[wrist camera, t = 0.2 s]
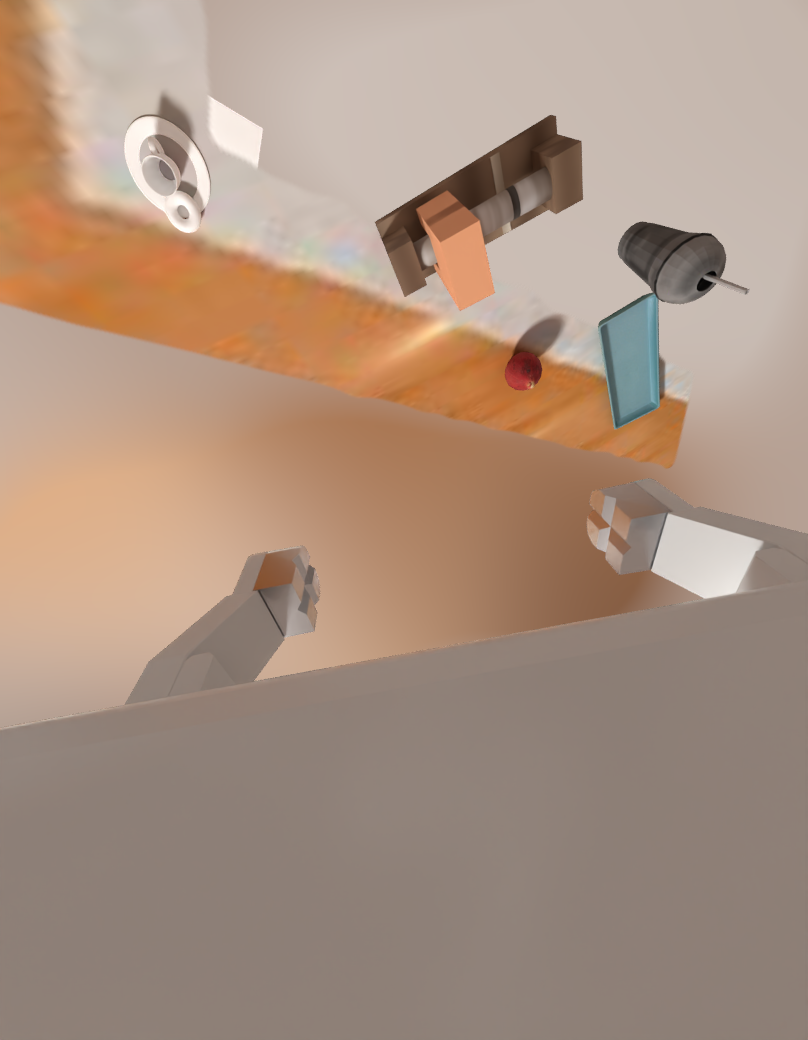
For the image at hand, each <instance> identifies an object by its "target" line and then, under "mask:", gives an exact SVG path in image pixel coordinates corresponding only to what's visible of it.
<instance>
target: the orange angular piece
mask: <svg viewBox="0 0 808 1040" xmlns="http://www.w3.org/2000/svg"><path fill="white" fill-rule="evenodd" d="M416 211H417V214H418V217H419V220H420V223H421V225H422V227H423V228H424V230H425V231H426V233H427V234H428V235H429V237H430V240H431V243H432V247H433V250H434V253H435V256H436V259H437V263H436V264H434V267H435V270H436V271H437V273H438V275H439V276H440V278H441V280H442V281H443V283H444V285H445V286H446V288H447V290H448V291H449V293H450V295H451V296H452V298H453V300H454V301H455V303H456V305H457V306H458V308H459V310H460V311H461V310H463V309H465V308H467V307H469V306H471V305H473V304H474V303H476V302H478V301H480V300H482V299H484V298H486V297H488V296H490V295H492V294H494V293H495V291H494V287H493V282H492V277H491V272H490V268H489V263H488V258H487V253H486V249H485V244H484V239H483V234H482V230H481V225H480V220H479V219H478V218H477V217H475V216H474V215H473V214H472V213H471V212H470V211H469V210H468V209H467V208H466V207H465V206H464V205H463V204H461V203H460V202H459V201H458V200H457V199H456V198H455V197H454V196H453V195H452V194H451V193H450V192H449V191H448V190H447V191H445V192H443V193H442V194H440V195H438V196H437V197H435V198H433V199H432V200H430V201H428V202H427V203H425V204H423V205H422V206H420V207H418V208H417V209H416Z"/></svg>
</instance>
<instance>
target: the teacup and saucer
mask: <svg viewBox="0 0 808 1040" xmlns="http://www.w3.org/2000/svg"><path fill="white" fill-rule="evenodd" d="M153 134H160V135H164V136H167V137H169V138H171V139H172V140H174V141H175V142H177V143H178V144H179V145H180V146H181V147H182V148H183V149H184V150H185V151H186V153H187V154H188V156H189V157H190V159H191V161H192V163H193V165H194V167H195V170H196V174H197V180H198V186H197V191H196V194H195V195H194V197H193V198H191V197H190V196H189V195H188V194H187V193H185V192H183V191H178V190H177V189H178V187H179V185H180V181H181V176H180V171H179V169H178V167H177V165H176V164H175V162H174V161H173V160H172V159H171V158H169V157H168V156H166V155H165V153H164V150H163V148H162V146H161V145H160V143H159V142H158V140H157V139H156V138H154V137H148V136H150V135H153ZM146 137H148V145H149V148H150V151H151V153H152V154H150V155H148V156H146V157H145V158H144V159H143V161H142V164H140V159H139V151H140V146H141V144H142V142H143V140H144V139H145V138H146ZM155 146H156V148H157V150H158V151H159V153H160V154H158V153H157V150H156V148H155ZM124 151H125V158H126V162H127V165H128V168H129V171H130V173H131V175H132V177H133V179H134V181H135V183H136V184H137V186H138V187H139V189H140V190H141V191H142V193H143V194H144V195H145V196H146V197H147V198H148V199H149V200H150V201H151V202H152V203H153V204H154V205H155V206H156V207H158V208H159V209H161V210H162V211H164V212H166V215H167V217H168V218H169V220H170V222H171V223H172V224H173V225H174V226H175V227H176V228H177V229H179V230H181V231H183V232H187V233H192V232H195V231H196V230H198V228H199V227H200V224H201V212H202V211H203V210H204V208H205V207H206V205H207V203H208V200H209V197H210V178H209V173H208V170H207V167H206V164H205V162H204V159H203V157H202V155H201V153H200V152H199V150H198V148H197V147H196V146H195V144H194V143H193V142H192V140H191V139H190V138H189V137H188V136H187V135H186V134H185V133H184V132H183V131H182V130H181V129H180V128H178V127H177V126H176V125H174V124H173V123H171V122H169V121H167V120H165V119H162V118H159V117H155V116H145V117H141V118H138V119H137V120H135V121H134V122H133V123H132V124H131V125H130V126H129V128H128V130H127V132H126V136H125V141H124ZM161 160H163V161H164V162H165V163H167V165H168V166H169V167H170V168H171V170H172V171H173V173H174V176H175V179H174V180H169V179H167V178H165V177H164V176H163V174H162V173H161V171H160V168H159V163H160V161H161ZM162 196H165V197H166V198H164V197H162ZM183 218H188V219H183Z"/></svg>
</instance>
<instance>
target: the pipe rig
mask: <svg viewBox="0 0 808 1040" xmlns="http://www.w3.org/2000/svg"><path fill="white" fill-rule="evenodd" d="M447 190H448V191H449V192H450V193H451V194H452V195H453V196H454V197H455V198H456V199H457V200H458V201H459V202H460V203H461V204H463V205H464V206H465V207H466V208H467V209H468V210H469V211H470V212H471V213H472V214H473V215H474V216H475V217H477V218H478V219H479V220H480V225H481V230H482V234H483V239H484V244H487V243H489V242H491V241H493V240H495V239H496V238H498V237H500V236H502V235H504V234H506V233H507V232H509V231H511V230H513V229H515V228H516V227H518V226H520V225H522V224H524V223H525V222H527V221H529V220H531V219H532V218H534V217H536V216H538V215H540V214H542V213H543V212H545V211H547V210H550V211H552V212H554V213H555V214H557V213H559V212H561V211H562V210H564V209H566V208H568V207H570V206H572V205H573V204H575V203H577V202H579V201H581V200H583V189H582V147H581V141H579V140H575V139H572V138H568V137H565V136H561V135H558V134H557V127H556V116H553V115H550V116H548V117H546V118H545V119H543V120H541V121H540V122H538V123H536V124H535V125H533V126H531V127H530V128H528V129H527V130H525V131H523V132H522V133H520V134H518V135H517V136H515V137H513V138H512V139H510V140H509V141H507V142H505V143H504V144H502V145H500V146H499V147H497V148H495V149H494V150H492V151H490V152H489V153H487V154H486V155H484V156H483V157H481V158H479V159H477V160H476V161H474V162H472V163H471V164H469V165H468V166H466V167H464V168H463V169H461V170H459V171H458V172H456V173H454V174H453V175H451V176H450V177H448V178H446V179H445V180H443V181H441V182H440V183H438V184H436V185H435V186H433V187H431V188H430V189H428V190H427V191H425V192H423V193H422V194H420V195H418V196H417V197H415V198H413V199H412V200H410V201H409V202H407V203H405V204H404V205H402V206H400V207H399V208H397V209H395V210H394V211H392V212H391V213H389V214H387V215H386V216H384V217H383V218H381V219H379V220H377V221H376V222H375V223H376V226H377V228H378V231H379V233H380V236H381V238H382V241H383V243H384V246H385V248H386V251H387V253H388V256H389V258H390V261H391V263H392V266H393V268H394V271H395V273H396V276H397V278H398V281H399V284H400V286H401V289H402V291H403V294H404V296H405V297H406V296H407V295H409V294H411V293H413V292H415V291H417V290H418V289H420V288H422V287H424V286H426V285H427V284H426V281H425V278H426V277H428V276H430V275H431V274H433V273H435V272H437V271H436V270H435V267H434V264H436V263H437V259H436V256H435V253H434V250H433V247H432V243H431V240H430V237H429V235H428V234H427V233H426V231H425V230H424V228H423V227H422V225H421V223H420V220H419V217H418V214H417V211H416V209H417V208H418V207H420V206H422V205H423V204H425V203H427V202H428V201H430V200H432V199H433V198H435V197H437V196H438V195H440V194H442V193H443V192H445V191H447Z"/></svg>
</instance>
